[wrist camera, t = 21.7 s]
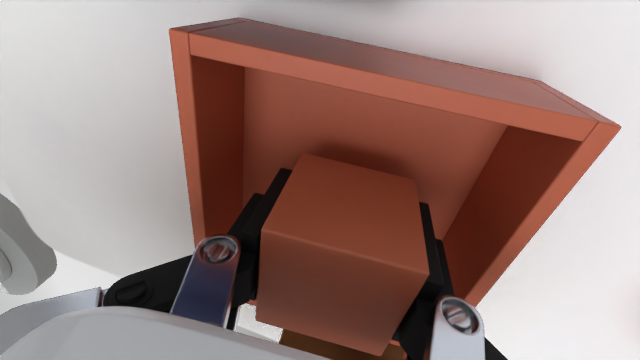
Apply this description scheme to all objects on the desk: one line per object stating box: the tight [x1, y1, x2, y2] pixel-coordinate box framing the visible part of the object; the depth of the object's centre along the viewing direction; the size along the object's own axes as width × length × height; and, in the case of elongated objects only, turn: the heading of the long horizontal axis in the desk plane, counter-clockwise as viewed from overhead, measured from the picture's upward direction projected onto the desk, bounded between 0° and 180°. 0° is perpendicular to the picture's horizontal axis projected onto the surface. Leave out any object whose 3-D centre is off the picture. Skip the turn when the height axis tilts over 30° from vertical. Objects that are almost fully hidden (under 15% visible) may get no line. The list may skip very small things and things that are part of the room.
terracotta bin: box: [169, 18, 621, 346], centre depth 13 cm, size 12×12×5 cm
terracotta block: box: [256, 153, 429, 356], centre depth 11 cm, size 4×4×4 cm
